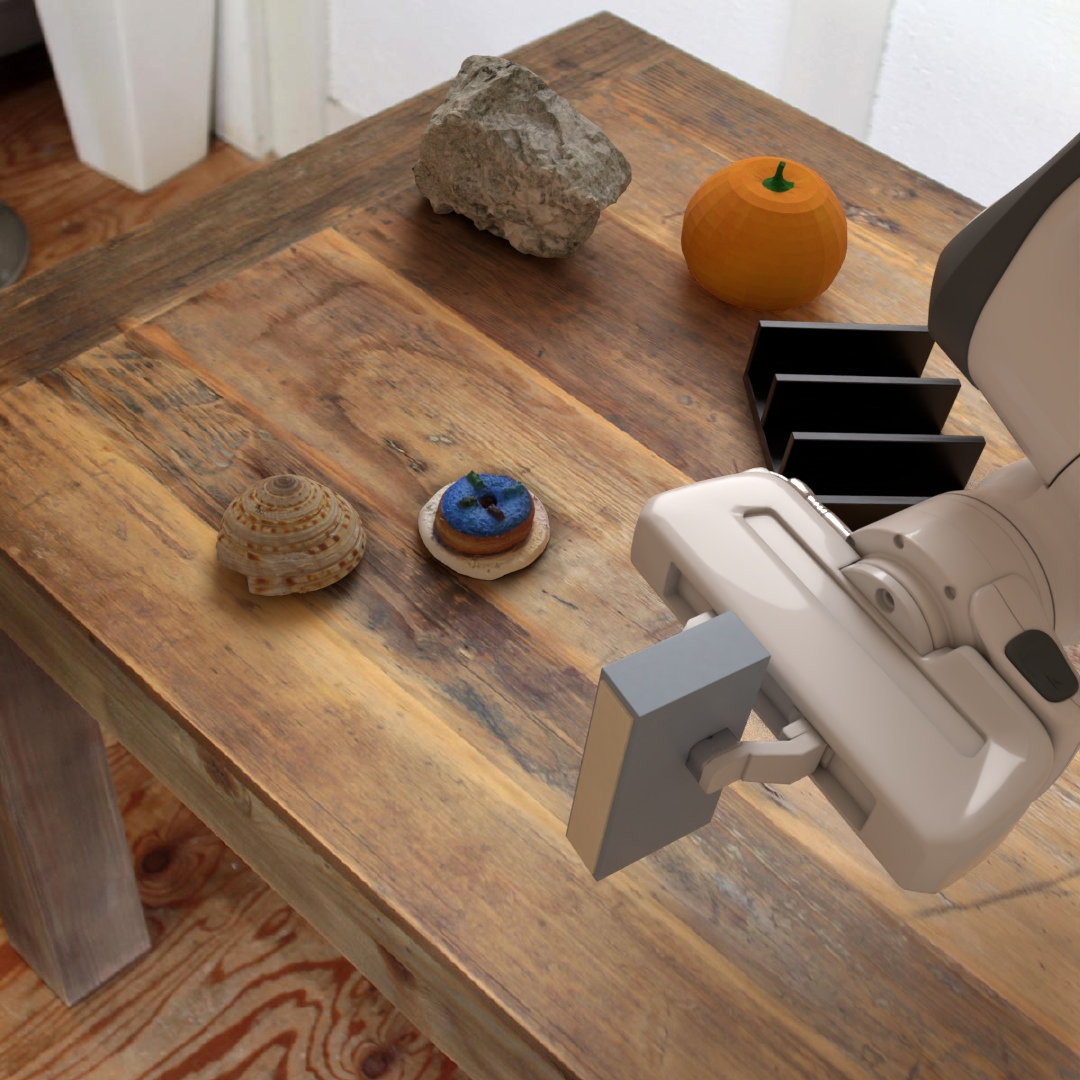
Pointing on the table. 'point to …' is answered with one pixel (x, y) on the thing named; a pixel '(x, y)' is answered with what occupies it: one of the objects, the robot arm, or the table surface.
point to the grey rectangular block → (659, 740)
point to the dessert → (484, 525)
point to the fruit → (764, 234)
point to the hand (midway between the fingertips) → (668, 734)
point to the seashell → (290, 536)
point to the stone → (518, 159)
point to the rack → (856, 416)
